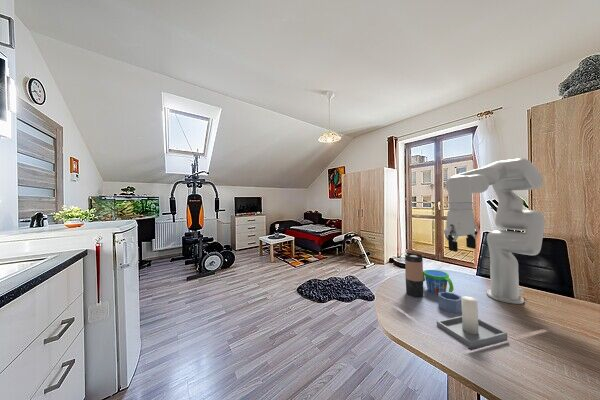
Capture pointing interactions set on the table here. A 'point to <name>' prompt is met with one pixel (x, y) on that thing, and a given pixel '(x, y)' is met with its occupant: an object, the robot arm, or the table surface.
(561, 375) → the table surface
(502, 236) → the robot arm
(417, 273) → the travel mug
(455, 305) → the cup
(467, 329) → the peg
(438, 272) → the snack cup
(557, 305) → the table surface
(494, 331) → the tray
